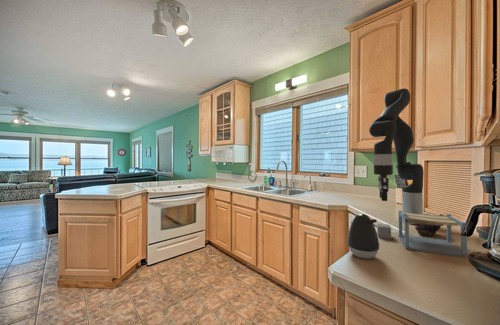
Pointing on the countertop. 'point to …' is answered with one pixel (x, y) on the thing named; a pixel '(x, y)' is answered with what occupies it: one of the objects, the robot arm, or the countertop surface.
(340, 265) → the countertop surface
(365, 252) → the penguin figurine
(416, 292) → the countertop surface
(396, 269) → the countertop surface
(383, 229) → the basalt cube
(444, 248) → the trapdoor frame
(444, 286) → the countertop surface
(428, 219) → the trapdoor
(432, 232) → the rock
